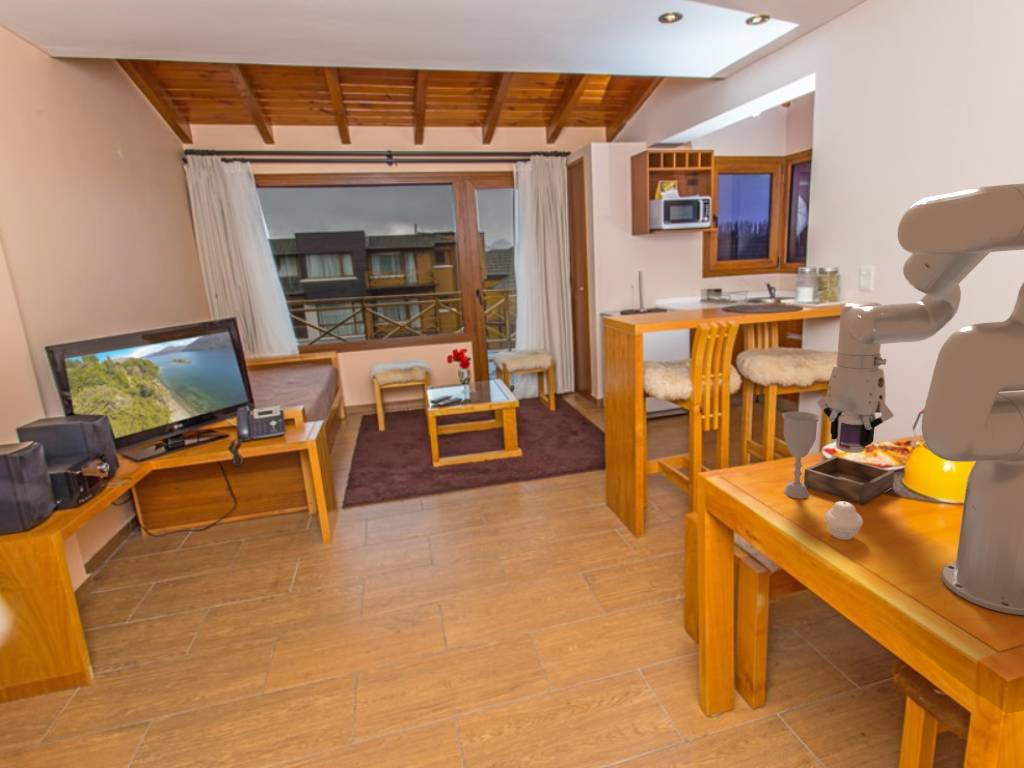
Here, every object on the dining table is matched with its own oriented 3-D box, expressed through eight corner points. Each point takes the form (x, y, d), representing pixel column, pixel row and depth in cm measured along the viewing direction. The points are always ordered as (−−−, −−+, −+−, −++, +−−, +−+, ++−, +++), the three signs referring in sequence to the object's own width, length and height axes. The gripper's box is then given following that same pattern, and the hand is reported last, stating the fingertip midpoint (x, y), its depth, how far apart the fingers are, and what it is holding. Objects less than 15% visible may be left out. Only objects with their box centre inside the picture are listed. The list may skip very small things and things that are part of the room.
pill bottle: (870, 452, 115) (874, 409, 112) (845, 454, 115) (848, 411, 113) (855, 444, 120) (858, 402, 118) (830, 445, 120) (834, 404, 118)
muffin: (842, 547, 97) (845, 512, 95) (815, 531, 103) (817, 498, 101) (869, 540, 98) (872, 505, 97) (841, 525, 104) (843, 492, 103)
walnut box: (892, 488, 117) (894, 471, 116) (863, 505, 111) (864, 487, 110) (834, 471, 128) (835, 455, 127) (803, 486, 122) (804, 469, 121)
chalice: (772, 493, 119) (776, 416, 115) (785, 484, 123) (789, 409, 119) (807, 503, 114) (812, 423, 109) (820, 493, 118) (825, 415, 114)
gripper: (912, 363, 108) (903, 447, 112) (826, 353, 122) (821, 428, 126) (894, 369, 104) (885, 456, 108) (807, 358, 118) (802, 435, 122)
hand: (850, 440), depth 117 cm, fingers closed on pill bottle, 5 cm apart
